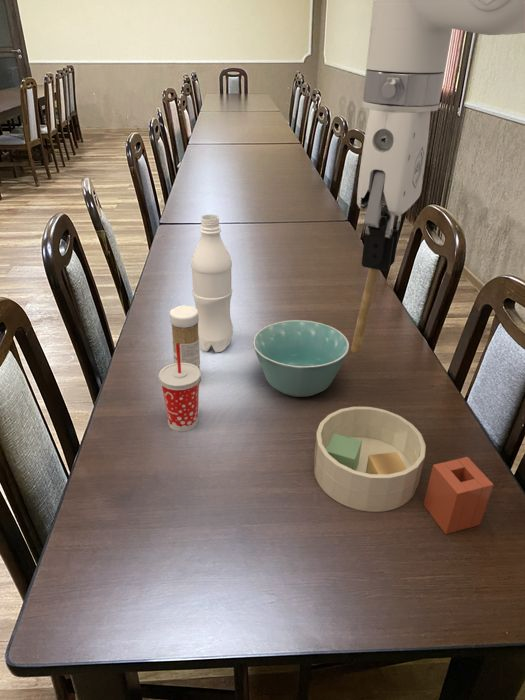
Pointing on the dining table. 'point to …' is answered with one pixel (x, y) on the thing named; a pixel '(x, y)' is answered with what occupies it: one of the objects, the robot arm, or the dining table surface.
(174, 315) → the sprinkles bottle
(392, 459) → the maple block
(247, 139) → the dining table surface
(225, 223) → the dining table surface
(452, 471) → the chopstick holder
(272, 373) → the bowl
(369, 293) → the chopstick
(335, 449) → the sage block
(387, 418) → the stir bowl
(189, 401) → the beverage cup
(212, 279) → the water bottle
